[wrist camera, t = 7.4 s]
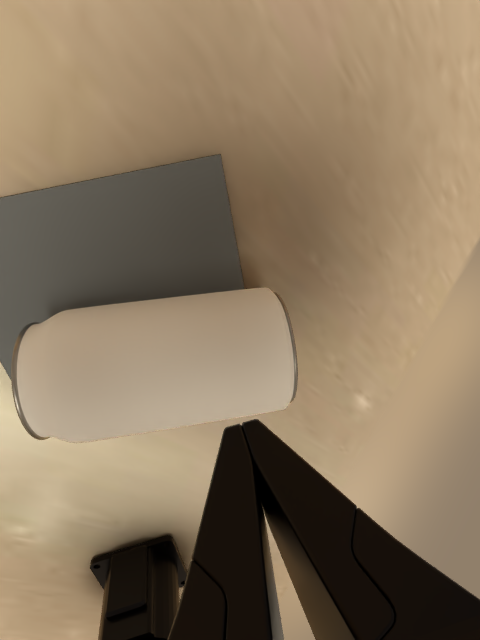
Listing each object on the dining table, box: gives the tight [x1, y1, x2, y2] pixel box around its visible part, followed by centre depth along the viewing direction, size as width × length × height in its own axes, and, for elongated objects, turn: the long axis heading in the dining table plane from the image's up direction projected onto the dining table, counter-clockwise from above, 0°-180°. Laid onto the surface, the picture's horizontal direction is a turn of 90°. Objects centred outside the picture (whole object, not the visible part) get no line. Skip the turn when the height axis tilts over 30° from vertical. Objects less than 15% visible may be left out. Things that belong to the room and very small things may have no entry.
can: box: [11, 287, 298, 443], centre depth 18 cm, size 6×6×12 cm
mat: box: [0, 154, 245, 381], centre depth 19 cm, size 11×14×1 cm
